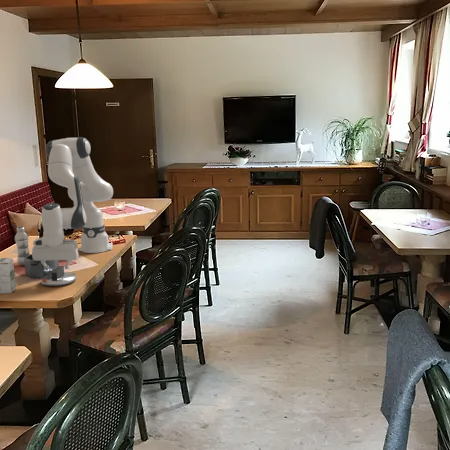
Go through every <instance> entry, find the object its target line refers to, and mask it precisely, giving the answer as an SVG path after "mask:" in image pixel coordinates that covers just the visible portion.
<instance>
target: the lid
mask: <svg viewBox="0 0 450 450" xmlns="http://www.w3.org/2000/svg"><path fill="white" fill-rule="evenodd" d="M76 280H77V275H76V274H75V273H74V272H68V271H67V272H66V271H65V265H59V266H58V267H57V268H56V269H55V270H54V271H53V272H51V274H49V275H46V276H44V277H42V278H41V279H40V284H41V285H44V286H49V287H59V286H60V287H61V286H65V285H67V284H71V283H73V282H75V281H76Z"/></svg>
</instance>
